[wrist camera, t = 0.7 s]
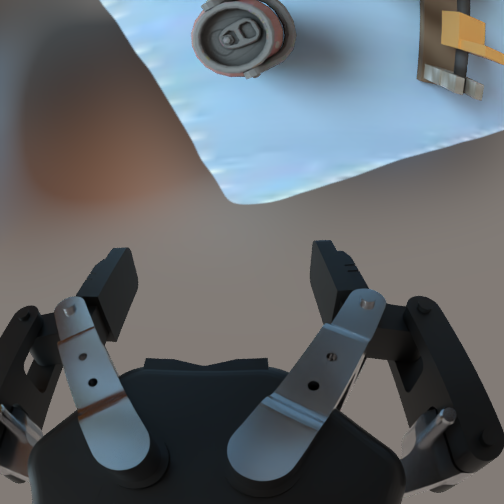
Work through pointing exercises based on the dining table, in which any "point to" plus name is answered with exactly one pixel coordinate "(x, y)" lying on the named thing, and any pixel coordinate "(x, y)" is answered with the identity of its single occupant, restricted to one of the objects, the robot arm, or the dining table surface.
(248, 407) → the robot arm
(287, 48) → the beverage can
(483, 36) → the sleeve
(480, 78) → the dining table surface
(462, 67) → the cord rig
